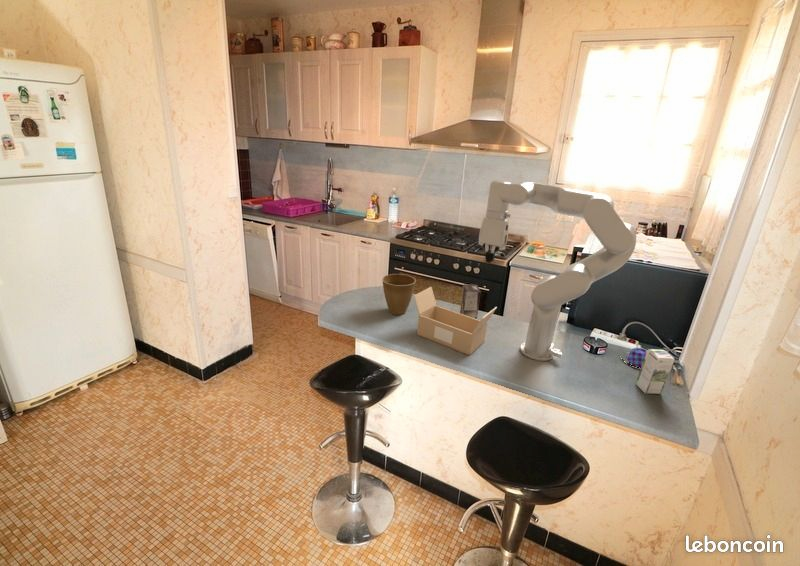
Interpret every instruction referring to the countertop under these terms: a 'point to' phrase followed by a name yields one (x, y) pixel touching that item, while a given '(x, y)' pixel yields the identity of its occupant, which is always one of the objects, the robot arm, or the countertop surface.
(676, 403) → the countertop surface
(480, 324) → the near flap
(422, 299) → the far flap
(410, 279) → the plant pot
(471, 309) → the coffee box
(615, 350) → the countertop surface
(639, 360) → the purple plaid hat
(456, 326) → the carton
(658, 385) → the syrup box
